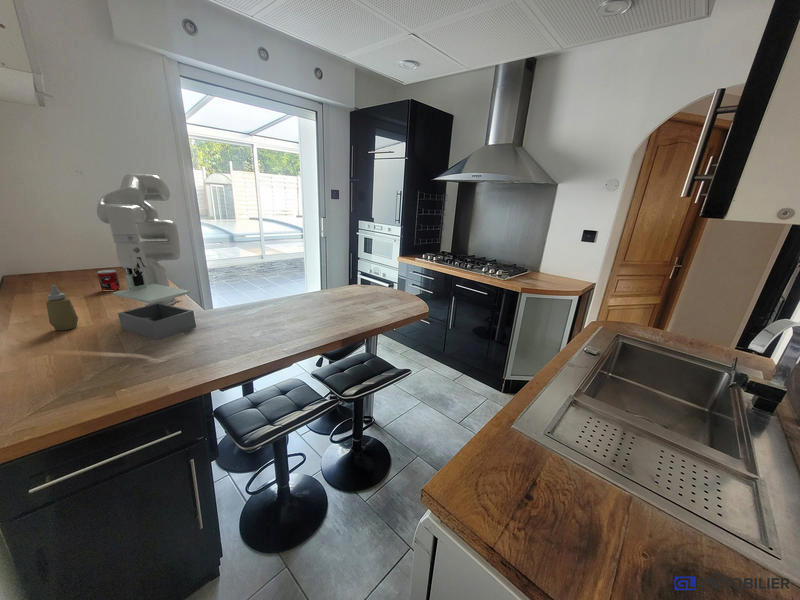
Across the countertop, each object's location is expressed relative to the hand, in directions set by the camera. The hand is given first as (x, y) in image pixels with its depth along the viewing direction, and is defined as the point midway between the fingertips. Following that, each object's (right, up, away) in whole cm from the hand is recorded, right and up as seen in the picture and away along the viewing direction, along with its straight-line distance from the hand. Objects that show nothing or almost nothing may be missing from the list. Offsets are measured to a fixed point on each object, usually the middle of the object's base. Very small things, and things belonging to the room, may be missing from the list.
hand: (137, 284), depth 124 cm
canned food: (-60, -1, +53) cm, 80 cm away
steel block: (+3, -18, +1) cm, 18 cm away
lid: (+8, -4, -2) cm, 10 cm away
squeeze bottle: (-29, -18, +1) cm, 34 cm away
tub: (+8, -19, +2) cm, 20 cm away
